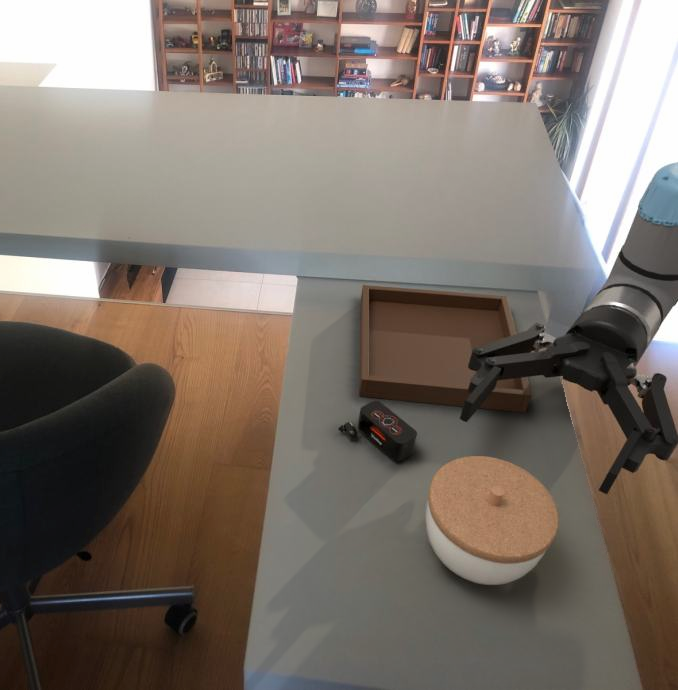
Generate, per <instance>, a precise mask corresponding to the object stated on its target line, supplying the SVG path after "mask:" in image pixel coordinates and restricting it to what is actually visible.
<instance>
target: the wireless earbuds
mask: <svg viewBox="0 0 678 690" xmlns="http://www.w3.org/2000/svg"><path fill="white" fill-rule="evenodd" d="M358 415H359V416H358V421H357V429H358V431H359V432H360V433H361V434H362V435H363V436H364V437H366V438H367V439H368V440H369V441H370V442H372V444H373V445H375V446H376V447H377V448H378V449H380V450H381V451H382V452H383V453H384V454H385V455H386V456H387V457H389V458H390V459H391V460H392V461H393V462H397V463H398V462H401V461H402V460H404V459H406V458H407V457H408V456H411V455H412V454H413V452H414V448H415V444H416V440H417V435H418V432H417V430H416V429H414V427H412V426H410V424H409V423H407V422H406V421H405V420H403V419H402V418H401V417H400V416H398V415H397V414H396V413H395V412H394V411H392V410H391V409H390V408H389V407H387V406H386V404H384V403H382V402H381V401H379V400H376V399H375V400H372V401H370V402H368V403H366V404H364V405H363V406H361V407H360V408H359V414H358ZM357 429H356V428H355V426H354V424H353V423H352V422H351V421H347V422H345V423H344V424H341V425H340V426H339V427H338V431H339V432H341V433H342V434H343V433H344V432H345V434H346V435H347V436H348V438H349V439H351V440H355V439H357V438H358V431H357Z"/></svg>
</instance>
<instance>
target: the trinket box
mask: <svg viewBox="0 0 678 690" xmlns="http://www.w3.org/2000/svg"><path fill="white" fill-rule="evenodd" d="M425 506H426V507H425V518H424V519H425V529H426V530H425V531H426V536H427V539H428V542H429V545H430V546H431V548H432V551H433V552H434V554H435V556H436V557H437V558H438V559H439V560H440V562H441V563H442V564H443V565H444V566H445V567H446V568H447V569H448V570H449V571H450V572H452V573H454V574H455V575H456V576H458V577H460V578H462V579H464V580H467V581H469V582H472V583H475V584H479V585H486V586H497V585H504V584H509V583H511V582H514V581H517V580H518V579H521V578H523V577H524V576H526V575H527V574H528V573H529V572H530V571H532V570H533V569H534V568H535V567H536V566H537V565H538V563H539V562H540V561H541V560H542V559H543V557H544V556H545V554H546V552H547V550H549V548H550V546H551V545H552V544H553V543H554V541H555V539H556V536H557V534H558V531H559V525H560V517H559V516H560V515H559V512H558V507H557V504H556V503H555V501H554V497H552V495H551V493H550V492H549V490H548V489H547V488H546V487H545V486H544V485H543V483H542V482H541V481H539V480H538V478H536V477H535V476H534V475H533V474H531V473H530V472H528V471H527V470H526V469H523V468H522V467H520V466H519V465H516V464H514V463H512V462H509V461H507V460H503V459H501V458H497V457H492V456H483V455H471V456H469V455H468V456H464V457H463V456H462V457H460V458H456V459H454V460H451V461H449V462H447V463H445V464H444V465H442V466H441V467H440V468H439V469H438V470H437V472H436V473H435V474H434V476H433V478H432V480H431V482H430V485H429V489H428V495H427V501H426V505H425Z"/></svg>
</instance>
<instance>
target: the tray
mask: <svg viewBox="0 0 678 690" xmlns="http://www.w3.org/2000/svg"><path fill="white" fill-rule="evenodd" d="M359 302H360V305H359V306H360V307H359V311H360V312H359V313H360V314H359V369H358V370H359V374H358V375H359V376H358V377H359V379H358V383H359V384H358V396H359V397H361V398H362V397H364V398H372V399H382V400H391V401H392V400H393V401H403V402H413V403H421V404H423V403H424V404H432V405H444V406H453V407H462V408H463V406H464V403H465V400H466V399H467V398H468V396H469V395H470V394H471V393H469V392H468V387H469V384H470V381H471V378H472V377H473V376H474V375H475V374H476V372H477V371H473V370H470V369H469V368H468V364H469V361H470V357H471V354H472V350H473V348H474V347H477V346H480V345H484V344H487V343H490V342H493V341H496V340H499V339H502V338H506V337H509V336H512V335H515V334H517V330H516V326H515V322H514V319H513V314H512V310H511V307H510V303H509V299H508V295H500V294H499V295H498V294H487V293H486V294H485V293H473V292H460V291H459V292H457V291H447V290H445V291H444V290H432V289H422V288H421V289H420V288H409V287H407V288H406V287H393V286H382V285H370V284H362V287H361V294H360V301H359ZM532 397H533V395H532V391H531V386H530V383H529V377H523V378H514V379H506V380H498V381H497V383H496V386H495V388H494V390H493V391H492V392H491V393H490V394H489V396H488V397H487V398H486V399H485V401H484V402H483V403H482V404H481V405H480V407H479V408H478V409H485V410H492V411H493V410H495V411H503V412H505V411H506V412H512V413H513V412H515V413H522V414H523V413H525V414H526V413H527V412H526V411H527V409H528V407H529V405H530V402H531V399H532Z"/></svg>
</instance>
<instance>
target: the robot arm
mask: <svg viewBox="0 0 678 690" xmlns="http://www.w3.org/2000/svg"><path fill="white" fill-rule="evenodd" d="M614 261H615V262H614V263H613V266H612V268H611V269H610V270H611V271H610V273H609V275H608V276H607V279H606V280H605V283H604V284H603V285H602V287H601V288H600V290H599V291H598V292H597V293H596V295H595V296H594V297H593V298H592V300H591V301H589V303H588V304H587V306H586V307H585V308H584V309H583V311H581V314H580V315H579V316H578V317H577V318H576V320H575V321H574V322H573V323H572V325H571V326H570V328H569V329H568V330H567V332H566V333H565V334H563V335H561V336H558V337H554V336H553V335H550V334H548V333H546V332H545V330H546V326H545V325H544V324H542V323H538V322H537V323H533V325H532V326H530V327H529V328H528V329H527V330H524V331H521V332H519V333H516V334H515V335H512V336H509V337H506V338H502V339H499V340H496V341H493V342H490V343H487V344H484V345H480V346H477V347H474V348H473V350H472V354H471V357H470V361H469V364H468V368H469V369H470V370H473V371H477V372H476V374H475V375H474V376H473V377H472V378H471V381H470V384H469V387H468V392H469V393H471V394H470V395H469V396H468V398H467V399H466V400H465V403H464V406H463V407H462V410H461V413H460V417H459V420H460V421H462V422H464V423H467V422H469V420H470V419H471V418H472V417H473V415H474V414H475V413H476V412H477V411H478V409H480V408H479V407H480V405H481V404H482V403H483V402H484V401H485V399H486V398H487V397H488V396H489V394H490V393H491V392H492V391H493V390H494V388H495V386H496V383H497V381H498V380H506V379H514V378H523V377H527V378H530V377H538V376H543V377H544V378H546V379H548V378H555V377H556V378H557V377H562V380H564V381H566V382H569V383H571V384H572V383H573V384H575V385H578V386H580V387H581V388H583V389H585V390H587V391H589V392H591V393H593V392H594V391H595V392H596V393H597V395H598V396H599V398H600V400H601V401H602V403H603V404H604V405H605V406H608V408H609V410H610V411H611V413H612V415H613V416H614V418H615V420H616V423H618V426H619V427H620V429H621V432H622V433H623V435H624V436H625V439H626V440H625V442H624V444H623V446H622V447H621V449H620V451H619V453H618V455H617V456H616V458H615V460H614V461H613V463H612V464H611V467H610V468H609V470H608V472H607V474H606V476H605V477H604V479H603V481H602V482H601V484H600V486H599V488H598V491H599V492H601V493H602V494H604V495H608V494H609V492H610V490H611V488H612V487H613V485H614V483H615V481H616V479H617V478H618V476H619V474H620V472H621V471H622V469H624V470H625V471H628V472H630V473H632V474H634V473H636V472H638V470H639V468H640V467H641V466H642V463H643V462H644V460H645V458H646V456H647V455H654V456H655V457H656V459H659V460H661V461H668V460H669V459H670V457H671V456H672V454H673V453H674V451H675V450H676V448H677V447H678V431H677V428H676V424H675V421H674V417H673V414H672V411H671V408H670V405H669V401H668V399H667V395H666V392H665V387H666V383H667V379H668V378H667V376H666V375H665V374H663V373H660V372H655V373H654V374H653V376H652V377H651V376H648V375H646V374H642V373H640V372H638V370H637V366H638V363H639V362H640V361H641V359H642V357H643V355H644V354H645V352H646V350H647V349H648V347H649V346H650V344H651V343H652V341H653V339H654V338H655V336H657V334H658V331H659V330H660V328H661V326H662V323H663V322H664V321H665V319H666V318H667V316H668V315H669V313H671V311H672V310H673V308H674V307H675V306H676V305H677V303H678V162H672V163H669V164H666V165H664V166H662V167H660V168H659V169H658V170H657V171H656V172H655V174H654V175H653V177H652V179H651V180H650V181H649V183H648V185H647V186H646V188H645V190H644V193H643V195H642V197H641V198H640V200H639V202H638V205H637V210H636V213H635V215H634V217H633V220H632V223H631V226H630V228H629V230H628V233H627V236H626V238H625V241H624V243H623V245H622V246H621V248H620V251H619V252H618V254H617V256H616V259H615V260H614ZM542 349H544V350H542ZM539 350H540V351H539ZM631 385H632V386H634V387H635V388H636V392H637V393H638V394H637V397H638V398H639V399H641V406H640V404H639V403H638V401H637V400H636V398H635V396H634V395H633V393H632V392H631V389H630V388H629V386H631Z"/></svg>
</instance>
